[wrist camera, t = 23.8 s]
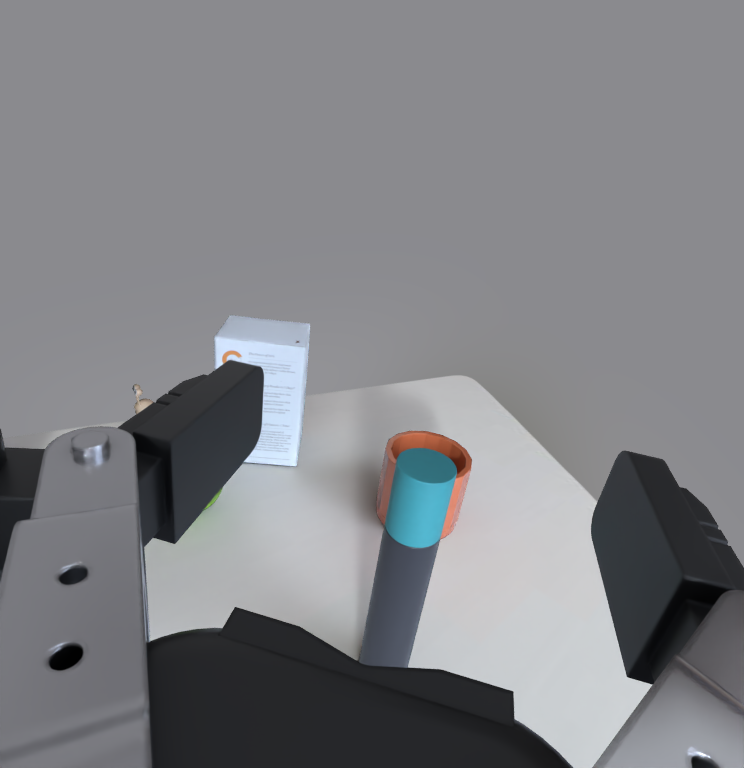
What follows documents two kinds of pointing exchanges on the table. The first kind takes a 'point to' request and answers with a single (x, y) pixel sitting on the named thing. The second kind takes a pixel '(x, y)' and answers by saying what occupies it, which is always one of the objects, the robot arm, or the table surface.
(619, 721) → the table surface
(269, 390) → the small box
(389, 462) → the pen cup
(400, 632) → the marker pen
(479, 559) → the table surface
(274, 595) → the table surface
